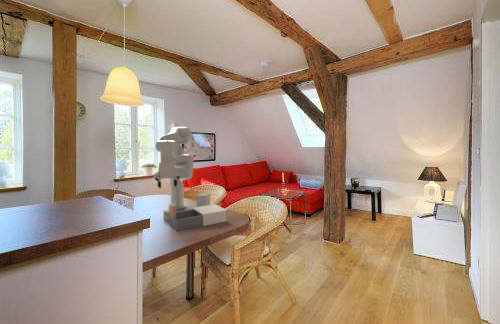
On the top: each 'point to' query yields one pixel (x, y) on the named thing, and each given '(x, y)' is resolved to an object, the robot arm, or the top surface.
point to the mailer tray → (184, 218)
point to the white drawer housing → (212, 214)
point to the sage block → (166, 214)
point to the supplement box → (203, 199)
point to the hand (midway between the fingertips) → (167, 187)
